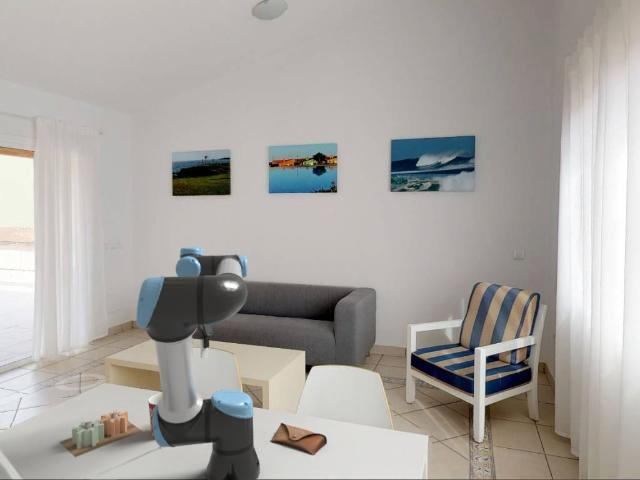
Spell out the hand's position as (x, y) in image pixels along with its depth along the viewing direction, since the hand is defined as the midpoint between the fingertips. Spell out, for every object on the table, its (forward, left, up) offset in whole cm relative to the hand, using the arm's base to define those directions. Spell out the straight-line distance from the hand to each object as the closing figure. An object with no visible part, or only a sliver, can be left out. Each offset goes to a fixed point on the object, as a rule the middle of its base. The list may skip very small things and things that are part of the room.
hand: (193, 352), depth 151 cm
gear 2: (+16, +21, -25) cm, 36 cm away
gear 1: (+16, +29, -25) cm, 42 cm away
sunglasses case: (-34, -17, -27) cm, 47 cm away
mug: (+3, +9, -27) cm, 29 cm away
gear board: (+16, +25, -27) cm, 40 cm away
